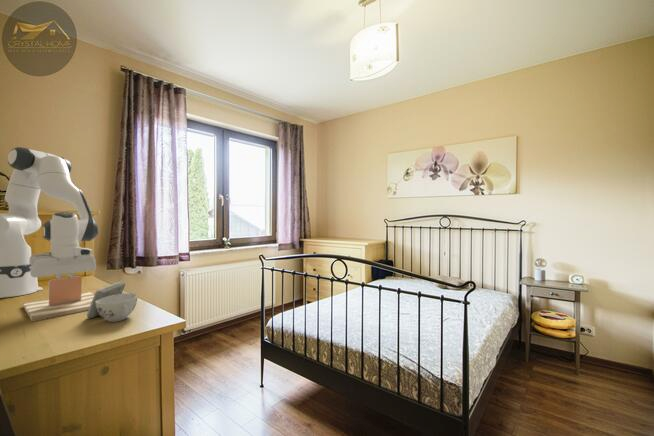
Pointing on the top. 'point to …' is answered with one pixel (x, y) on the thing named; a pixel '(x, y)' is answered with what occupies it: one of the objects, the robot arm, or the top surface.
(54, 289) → the tile
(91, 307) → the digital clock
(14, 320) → the top surface
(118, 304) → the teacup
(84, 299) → the board
